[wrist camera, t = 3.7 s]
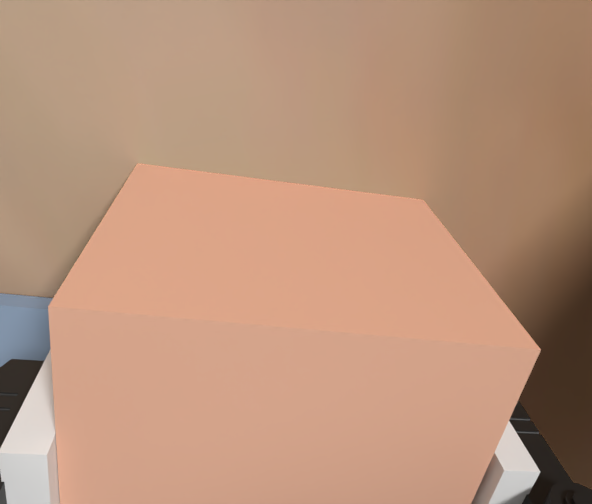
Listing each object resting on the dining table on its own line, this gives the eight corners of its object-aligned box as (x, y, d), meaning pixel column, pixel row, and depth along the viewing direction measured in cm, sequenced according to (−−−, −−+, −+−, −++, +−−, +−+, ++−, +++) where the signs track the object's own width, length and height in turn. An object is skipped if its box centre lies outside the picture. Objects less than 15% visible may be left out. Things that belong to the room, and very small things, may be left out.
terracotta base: (422, 198, 15) (541, 349, 9) (362, 407, 19) (418, 619, 12) (137, 162, 14) (47, 306, 8) (131, 391, 18) (66, 616, 11)
